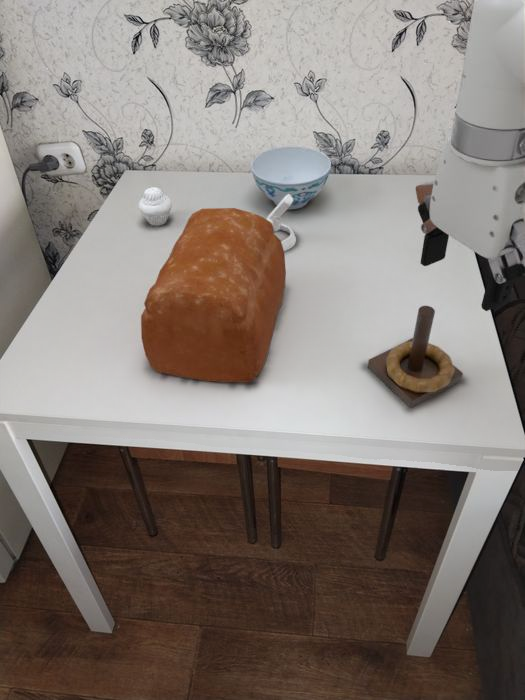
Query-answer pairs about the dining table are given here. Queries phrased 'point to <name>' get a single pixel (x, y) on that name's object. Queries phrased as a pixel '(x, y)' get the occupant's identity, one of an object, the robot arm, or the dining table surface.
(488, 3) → the robot arm
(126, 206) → the dining table surface
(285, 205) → the hook
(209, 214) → the bread
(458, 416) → the dining table surface
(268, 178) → the chinaware
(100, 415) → the dining table surface
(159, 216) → the muffin
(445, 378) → the ring
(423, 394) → the stand
